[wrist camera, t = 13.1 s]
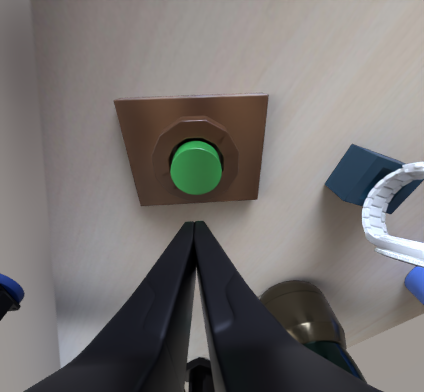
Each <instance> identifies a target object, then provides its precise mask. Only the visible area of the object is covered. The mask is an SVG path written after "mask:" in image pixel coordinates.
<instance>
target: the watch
mask: <svg viewBox="0 0 424 392" xmlns="http://www.w3.org/2000/svg"><path fill="white" fill-rule="evenodd" d="M423 180H424V162H417V163H411V164H405V163H403V162H401V161H398V160H396V159H393V158H390V157H387V156H384V155H382V154H379V153H376V152H373V151H370V150H368V149H365V148H362V147H359V146H357V145H354V144H352V145H351V146H350V148H349V149H348V151H347V152H346V153H345V155H344V156H343V158H342V159H341V161H340V162H339V164H338V165H337V167H336V168H335V170H334V171H333V173H332V174H331V175H330V177H329V178H328V180H327V181H326V183H325V185H326V186H327V187H328V188H329V189H331V190H332V191H333V192H334V193H335V194H336V195H337V196H338V197H340V198H341V199H342V200H343V201H345V202H349V203H352V204H356V205H360V206H363V207H365V208H363V209H362V224H363V228H365V229H364V231H365V234H366V239H367V240H368V241H370V242H371V243H372V244H374V245H376V246H377V248H375V249H374V251H376V252H377V253H380V254H382V255H385V256H387V257H390V258H393V259H396V260H399V261H402V262H405V263H408V264H412V265H415V266H419V267H422V268H424V243H420V242H416V241H411V240H407V239H402V238H398V237H393V236H389V234H388V233H387V228H386V224H385V223H384V222H385V213H388V214H392V213H393V212H394V211H395V210H396V209H397V208H398V207H399V205H400V204H401V203H402V202H403V201H404V200H405V199H406V198H407V197H408V196H409V195H410V194H411V193H412V192H413V191H414V190H415V189H416V188H417V187H418V186H419V185H420V183H421V182H422V181H423ZM382 212H383V213H382ZM375 217H376V218H375Z"/></svg>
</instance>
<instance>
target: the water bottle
mask: <svg viewBox="0 0 424 392" xmlns="http://www.w3.org/2000/svg"><path fill="white" fill-rule="evenodd" d="M405 286H406V288H407V289H408V290H409V291H410V292H411V293H412V294H413V295H414V296H415V297H416V298H417V299H418V300H419V301H420V302H421V303H422V304H423V305H424V268H422V267H419V266H416V267H415V268H414V269H413V270H412V271H411V272H410V273H409V274H408V275H407V277H406V279H405Z"/></svg>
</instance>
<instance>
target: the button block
mask: <svg viewBox="0 0 424 392" xmlns="http://www.w3.org/2000/svg"><path fill="white" fill-rule="evenodd" d="M268 96H269V95H268V94H265V93H245V94H218V95H191V96H164V97H137V98H119V99H116V100H114V104H115V108H116V112H117V116H118V119H119V123H120V127H121V131H122V135H123V139H124V143H125V147H126V150H127V154H128V158H129V162H130V166H131V170H132V174H133V177H134V181H135V185H136V189H137V193H138V197H139V201H140V205H141V206H152V205H170V204H187V203H205V202H222V201H240V200H257V198H258V188H259V179H260V170H261V161H262V151H263V142H264V133H265V123H266V114H267V105H268ZM189 141H202V142H205V143H208V144H209V145H211V146H212V147H213V148H214V149H215V150H216V152H217V154H218V156H219V160H220V164H221V168H222V175H221V179H220V181H219V183H218V185H217V186H216V187H215V188H214V189H213V190H211V191H210V192H208V193H205V194H201V195H192V194H188V193H185V192H183V191H182V190H180V189H179V188H178V187H177V186H176V185H175V184H174V182H173V180H172V178H171V173H170V169H171V164H172V160H173V157H174V154H175V152H176V150H177V149H178V148H179V147H180V146H181V145H183V144H184V143H186V142H189Z"/></svg>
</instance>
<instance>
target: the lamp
mask: <svg viewBox="0 0 424 392" xmlns="http://www.w3.org/2000/svg"><path fill="white" fill-rule="evenodd" d="M260 301H261V302H262V303H263V304H264V305H265V307H266V308H267V309H268V310H269V311H270V312H271V313H272V315H273V316H274V317H275V318H276V319H277V320H278V321H279V322H280V324H281V325H282V326H283V327H284V328H285V329H286V330H287V331H288V333H289V334H290V335H291V336H293V337H294V338H295V339H296V340H297V341H298V342H299V343H301V344H302V345H304V346H305V347H307V348H308V349H310V350H312V351H313V352H315V353H317V354H318V355H320V356H322V357H323V358H325V359H327V360H328V361H330V362H332V363H333V364H335V365H337V366H338V367H340V368H342V369H343V370H345V371H347V372H348V373H350V374H352V375H353V376H355V377H357V378H358V379H360V380H362V381H363V382H365V383H367V382H366V380H365V379H364V377H363V375H362V373H361V371H360V370H359V368H358V366H357V365H356V363H355V362H354V360H353V359H352V357H351V356H350V355H349V353H348V352H347V351H346V341H345V333H344V330H343V328H342V326H341V324H340V323H339V321H338V319H337V317H336V316H335V314H334V312H333V310H332V308H331V307H330V305H329V303H328V301H327V300H326V298H325V296H324V294H323V293H322V292H321V290H320V289H319V288H317V287H316V286H315V285H313V284H311V283H308V282H305V281H298V280H294V281H286V282H282V283H279V284H276V285H274V286H273V287H271V288H269V289H268V290H267V291H266V292H265V293H264V294H263V295H262V296H261V298H260Z"/></svg>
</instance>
